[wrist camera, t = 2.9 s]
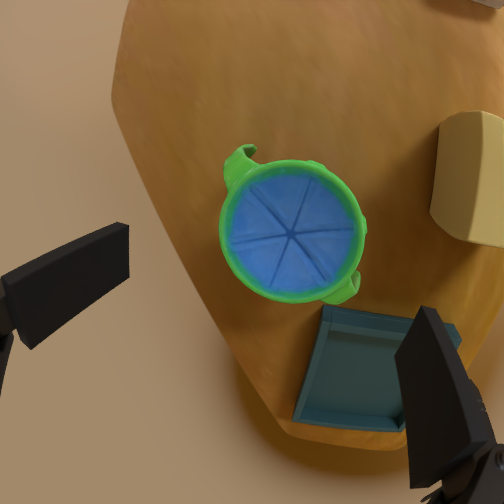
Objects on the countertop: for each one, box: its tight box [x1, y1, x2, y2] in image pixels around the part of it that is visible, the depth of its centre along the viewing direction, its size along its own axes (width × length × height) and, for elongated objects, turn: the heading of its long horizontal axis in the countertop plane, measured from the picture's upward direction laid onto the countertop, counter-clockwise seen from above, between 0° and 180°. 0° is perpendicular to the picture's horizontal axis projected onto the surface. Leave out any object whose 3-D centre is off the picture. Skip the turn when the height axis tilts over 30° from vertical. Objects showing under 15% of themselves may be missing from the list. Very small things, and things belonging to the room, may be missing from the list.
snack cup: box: [218, 144, 367, 305], centre depth 24 cm, size 16×10×10 cm
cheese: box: [429, 111, 504, 248], centre depth 17 cm, size 10×11×10 cm
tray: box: [292, 305, 462, 432], centre depth 31 cm, size 18×19×4 cm
